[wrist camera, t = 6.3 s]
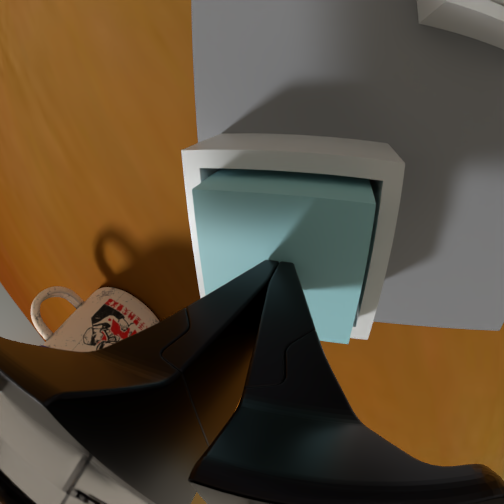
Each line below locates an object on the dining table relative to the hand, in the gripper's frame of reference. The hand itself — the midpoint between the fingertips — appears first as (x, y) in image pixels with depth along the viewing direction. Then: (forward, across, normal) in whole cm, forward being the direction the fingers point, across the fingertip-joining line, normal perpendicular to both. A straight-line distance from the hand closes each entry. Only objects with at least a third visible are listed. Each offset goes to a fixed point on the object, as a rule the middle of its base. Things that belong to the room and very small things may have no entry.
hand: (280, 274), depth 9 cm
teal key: (+3, 0, 0) cm, 3 cm away
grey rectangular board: (+8, -4, -6) cm, 11 cm away
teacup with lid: (+8, +16, +12) cm, 22 cm away
